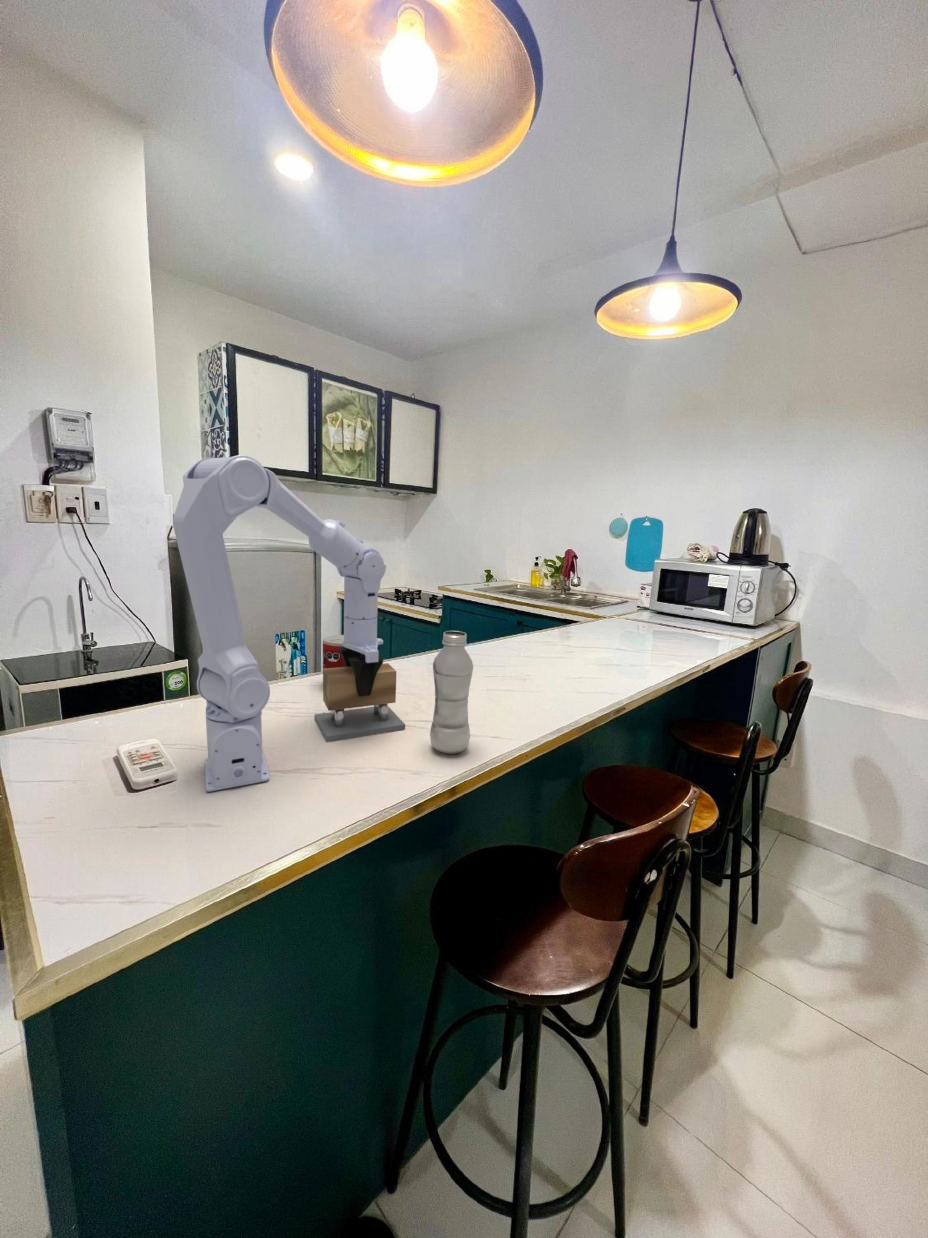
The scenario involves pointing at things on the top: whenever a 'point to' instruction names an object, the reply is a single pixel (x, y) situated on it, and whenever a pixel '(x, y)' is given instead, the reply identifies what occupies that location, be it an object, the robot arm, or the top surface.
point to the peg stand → (358, 722)
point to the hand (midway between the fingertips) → (359, 690)
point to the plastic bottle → (451, 695)
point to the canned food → (332, 652)
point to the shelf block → (344, 693)
